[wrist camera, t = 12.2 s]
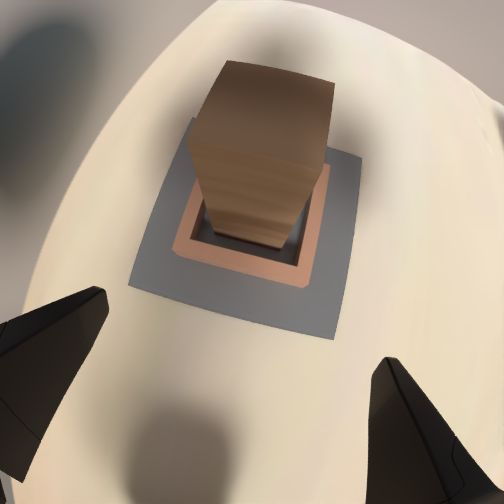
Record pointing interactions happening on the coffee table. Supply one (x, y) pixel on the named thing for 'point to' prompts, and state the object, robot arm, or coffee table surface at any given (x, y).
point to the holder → (253, 252)
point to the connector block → (260, 150)
